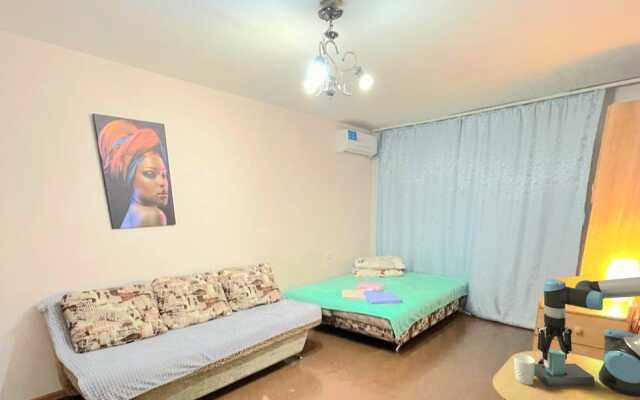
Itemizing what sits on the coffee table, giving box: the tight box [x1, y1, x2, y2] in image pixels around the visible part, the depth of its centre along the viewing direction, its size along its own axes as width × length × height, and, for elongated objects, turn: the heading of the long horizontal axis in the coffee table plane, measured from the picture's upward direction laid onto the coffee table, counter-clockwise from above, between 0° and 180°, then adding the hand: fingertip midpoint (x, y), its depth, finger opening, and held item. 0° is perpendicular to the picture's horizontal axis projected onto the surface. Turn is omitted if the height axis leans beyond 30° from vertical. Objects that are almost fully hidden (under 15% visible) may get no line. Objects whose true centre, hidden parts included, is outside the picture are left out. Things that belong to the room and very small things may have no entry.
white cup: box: [513, 353, 536, 386], centre depth 136 cm, size 8×8×10 cm
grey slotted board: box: [534, 363, 595, 388], centre depth 136 cm, size 20×10×4 cm, turn 89°
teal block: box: [545, 349, 566, 375], centre depth 136 cm, size 5×5×10 cm
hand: (554, 366), depth 136 cm, fingers open, 6 cm apart
